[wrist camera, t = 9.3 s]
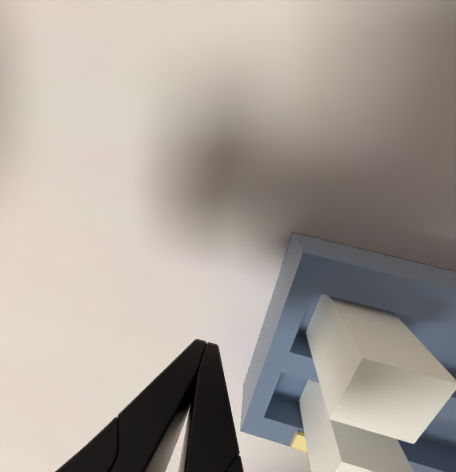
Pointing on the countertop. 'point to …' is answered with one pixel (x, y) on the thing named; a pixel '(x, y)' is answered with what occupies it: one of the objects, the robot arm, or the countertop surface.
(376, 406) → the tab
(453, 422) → the switch panel
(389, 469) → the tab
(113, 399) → the countertop surface
